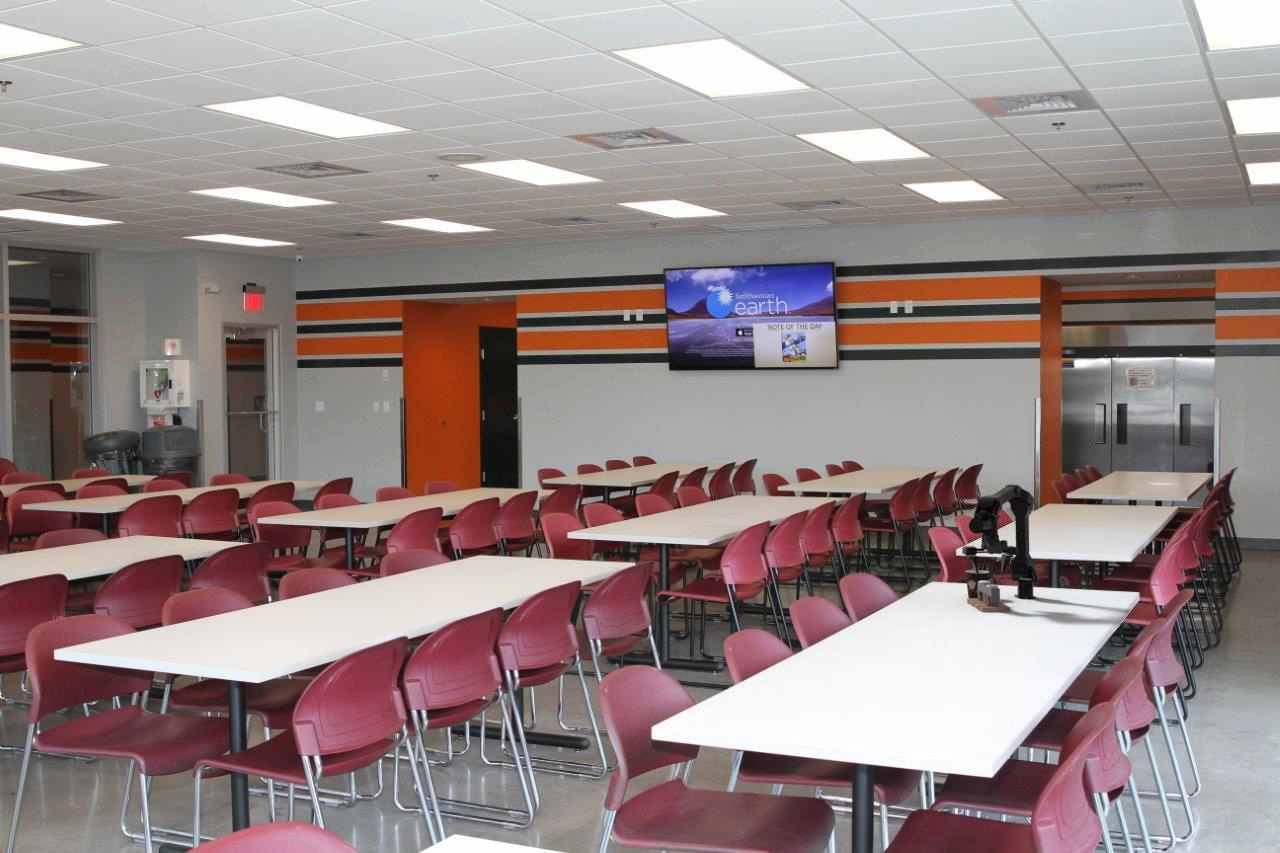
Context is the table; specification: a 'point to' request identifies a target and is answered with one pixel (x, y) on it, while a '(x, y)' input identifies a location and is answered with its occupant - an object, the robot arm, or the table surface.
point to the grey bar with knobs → (989, 590)
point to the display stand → (987, 604)
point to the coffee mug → (975, 581)
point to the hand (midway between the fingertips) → (989, 574)
